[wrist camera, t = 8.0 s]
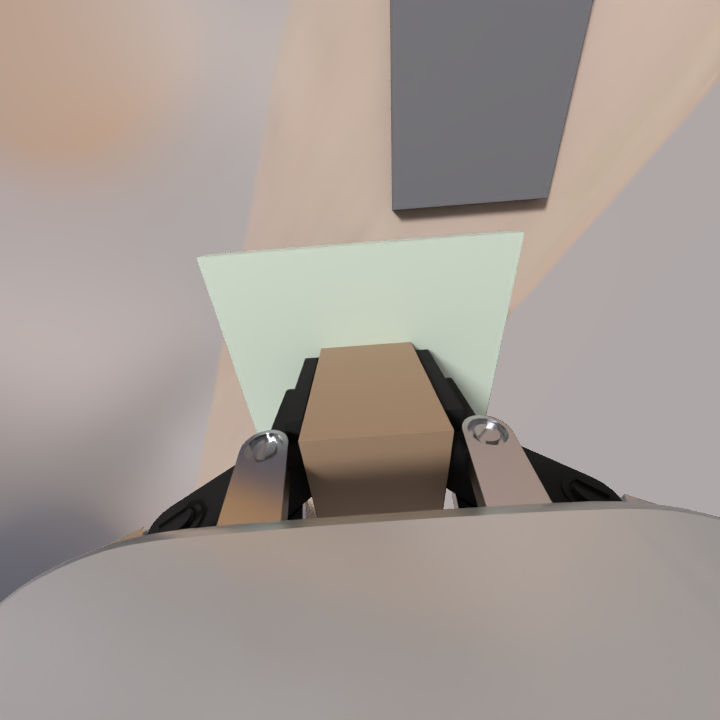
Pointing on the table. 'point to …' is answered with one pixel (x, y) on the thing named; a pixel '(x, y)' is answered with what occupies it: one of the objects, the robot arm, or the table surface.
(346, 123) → the table surface
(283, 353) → the lid
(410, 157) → the mat
